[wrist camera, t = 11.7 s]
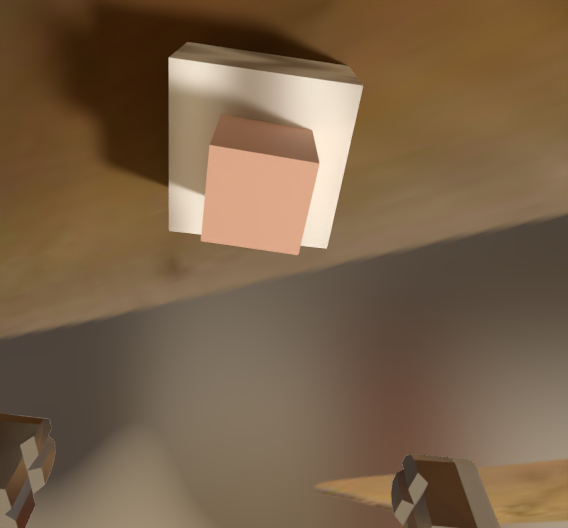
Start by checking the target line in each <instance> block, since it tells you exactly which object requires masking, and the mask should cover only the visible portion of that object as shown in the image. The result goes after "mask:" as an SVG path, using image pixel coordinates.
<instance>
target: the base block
mask: <svg viewBox="0 0 568 528" xmlns="http://www.w3.org/2000/svg"><path fill="white" fill-rule="evenodd" d="M362 89H363V85H362V83H361V82H360V81H359V79H358V78H357V77H356V75H355V74H354V73H353V71H352V70H351V69H350V67H349V66H346V65H340V64H333V63H326V62H319V61H313V60H306V59H299V58H293V57H286V56H279V55H272V54H266V53H259V52H252V51H246V50H239V49H232V48H225V47H219V46H212V45H205V44H199V43H192V42H187V43H186V44H184V45H183V46H182V47H181V48H179V49H178V50H177V51H176V52H175V53H173V54H172V55H171V56H170V57H169V231H175V232H184V233H193V234H202V223H203V212H204V200H205V189H206V178H207V167H208V156H209V145H210V142H211V140H212V137H213V134H214V132H215V129H216V127H217V124H218V121H219V119H220V116H221V114H223V115H228V116H234V117H240V118H245V119H251V120H257V121H262V122H268V123H274V124H279V125H285V126H290V127H296V128H302V129H307V130H312V131H313V135H314V140H315V144H316V149H317V154H318V158H319V163H320V164H319V169H318V173H317V177H316V182H315V186H314V190H313V194H312V199H311V203H310V207H309V212H308V216H307V220H306V224H305V229H304V233H303V237H302V242H301V246H309V247H317V248H326V249H327V246H328V241H329V237H330V232H331V228H332V223H333V219H334V214H335V210H336V205H337V201H338V196H339V192H340V187H341V183H342V178H343V174H344V170H345V165H346V161H347V156H348V152H349V147H350V143H351V138H352V134H353V129H354V125H355V120H356V116H357V111H358V107H359V102H360V98H361V93H362Z"/></svg>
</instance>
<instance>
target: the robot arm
mask: <svg viewBox="0 0 568 528" xmlns="http://www.w3.org/2000/svg"><path fill="white" fill-rule="evenodd" d="M51 429H52V427H51V424H50V419H46V418H37V417H28V416H19V415H10V414H1V413H0V528H25V527H26V525H27V523H28V520H29V518H30V516H31V514H32V512H33V510H34V507H35V500H34V497H33V493H35V492H36V491H37V490H39V489H40V488H41V487H42V486H44V485H45V483H46V481H47V479H48V476H49V474H50V472H51V469H52V465H53V462H54V458H55V443H54V440H53V439H51V438H50V437H49V436H48V435H49V433H50V430H51ZM402 464H403V468H404V469H403V470H402V471H400V472H398V473H396V475H395V477H394V480H393V482H392V490H391V499H392V507H393V512H394V515H395V516H396V517H397V519H398V520H399V521H400V523H401V524H402V527H401V528H500V526H499V523H498V521H497V518H496V516H495V513H494V511H493V508H492V506H491V503H490V501H489V498H488V496H487V493H486V491H485V488H484V486H483V483H482V481H481V478H480V475H479V473H478V470H477V468H476V466H475V464H474V463H473V462H472V461H471V460H467V459H455V458H448V457H438V456H426V455H414V454H413V455H412V454H409V455H407V456H406V457H405V458H404V460H403V462H402Z"/></svg>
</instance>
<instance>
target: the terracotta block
mask: <svg viewBox="0 0 568 528" xmlns="http://www.w3.org/2000/svg"><path fill="white" fill-rule="evenodd" d="M319 164H320V163H319V158H318V154H317V149H316V144H315V140H314V135H313V131H312V130H307V129H302V128H296V127H290V126H285V125H279V124H274V123H268V122H262V121H257V120H251V119H245V118H240V117H234V116H228V115H223V114H221V116H220V119H219V121H218V124H217V127H216V129H215V132H214V134H213V137H212V140H211V142H210V145H209V156H208V167H207V178H206V189H205V200H204V212H203V223H202V234H201V241H204V242H211V243H218V244H225V245H232V246H239V247H246V248H253V249H259V250H266V251H273V252H280V253H287V254H294V255H298V254H299V250H300V246H301V242H302V237H303V233H304V229H305V224H306V220H307V216H308V212H309V207H310V203H311V199H312V194H313V190H314V186H315V182H316V177H317V173H318V169H319Z"/></svg>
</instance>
